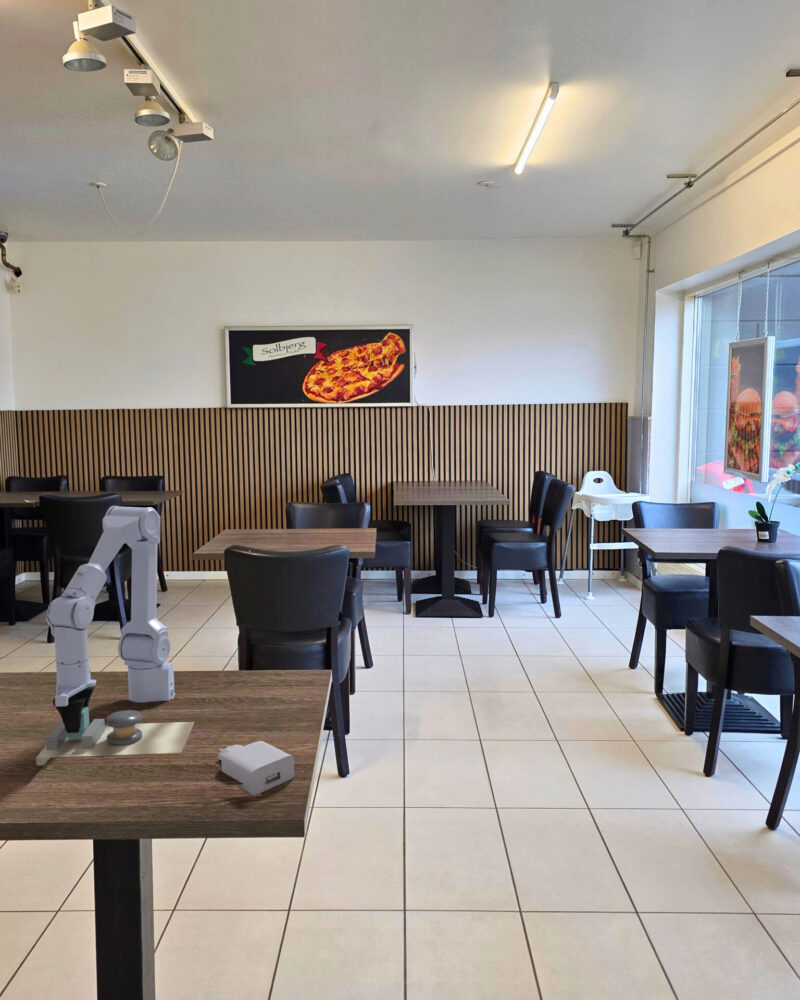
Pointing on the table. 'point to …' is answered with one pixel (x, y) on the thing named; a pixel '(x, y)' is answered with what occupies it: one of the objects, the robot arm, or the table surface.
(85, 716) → the peg
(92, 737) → the gray parallel rails
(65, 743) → the board
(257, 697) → the table surface
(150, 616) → the robot arm
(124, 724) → the bobbin
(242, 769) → the charger
